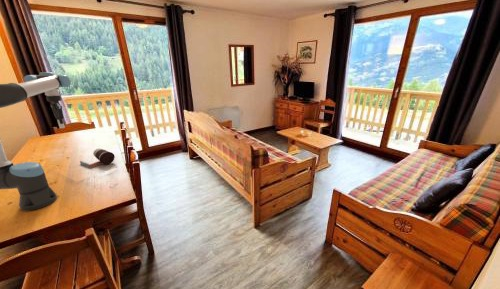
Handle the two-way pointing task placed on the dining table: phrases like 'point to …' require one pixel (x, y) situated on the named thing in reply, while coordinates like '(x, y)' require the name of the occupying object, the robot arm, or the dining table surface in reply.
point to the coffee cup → (104, 156)
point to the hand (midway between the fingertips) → (62, 128)
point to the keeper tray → (90, 164)
